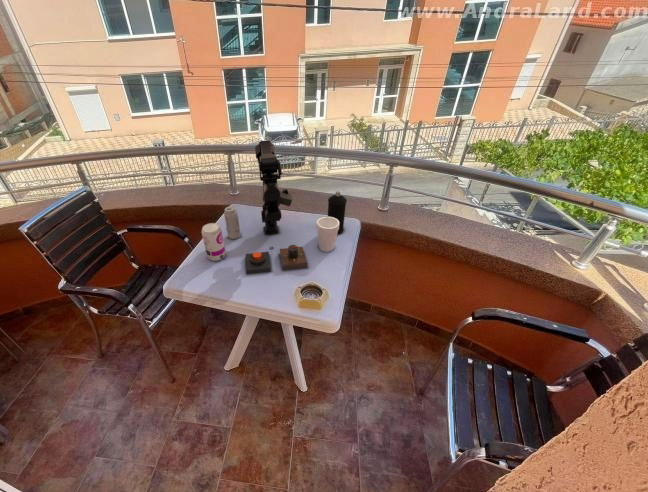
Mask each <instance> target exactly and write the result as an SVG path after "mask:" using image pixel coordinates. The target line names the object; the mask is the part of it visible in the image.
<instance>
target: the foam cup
mask: <svg viewBox="0 0 648 492" xmlns="http://www.w3.org/2000/svg"><path fill="white" fill-rule="evenodd" d="M316 230H317V237H318V238H317V240H318V247H319V250H320V251H322V252H325V253H326V252H327V253H329V252H332V251H333V250H334V248H335V245H336V240H337V236H338V234H337V233H338V230H339V221H338V219H336V218H334V217H328V216H323V217H320V218H318V219H317V220H316Z"/></svg>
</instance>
